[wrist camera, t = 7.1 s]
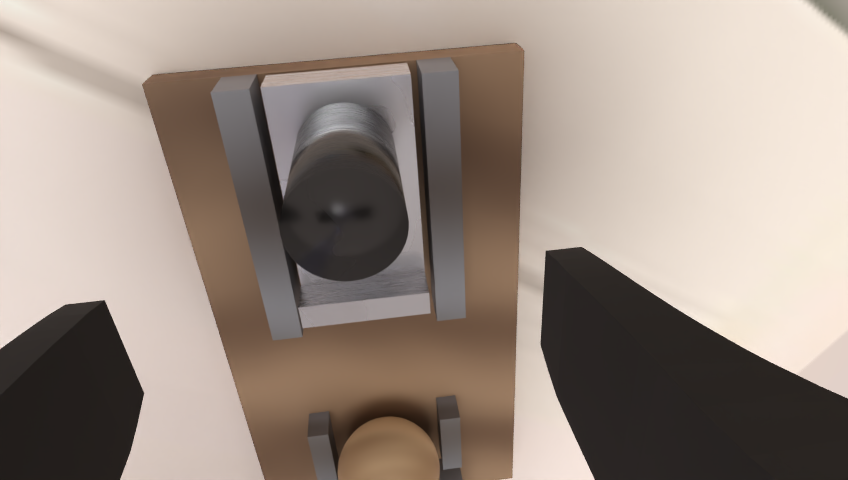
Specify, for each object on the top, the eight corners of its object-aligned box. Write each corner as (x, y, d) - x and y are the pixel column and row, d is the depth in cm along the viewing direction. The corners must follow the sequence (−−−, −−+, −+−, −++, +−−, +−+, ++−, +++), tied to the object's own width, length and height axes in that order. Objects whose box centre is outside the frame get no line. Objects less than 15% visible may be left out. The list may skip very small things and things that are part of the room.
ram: (422, 271, 20) (445, 389, 16) (307, 284, 20) (294, 408, 15) (406, 63, 17) (430, 132, 12) (265, 75, 16) (230, 151, 12)
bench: (507, 460, 28) (532, 549, 24) (276, 491, 27) (264, 588, 24) (515, 43, 18) (561, 83, 14) (152, 75, 17) (96, 126, 13)
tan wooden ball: (435, 454, 26) (448, 540, 22) (344, 467, 26) (344, 555, 22) (430, 389, 24) (444, 472, 20) (332, 401, 24) (329, 488, 20)
